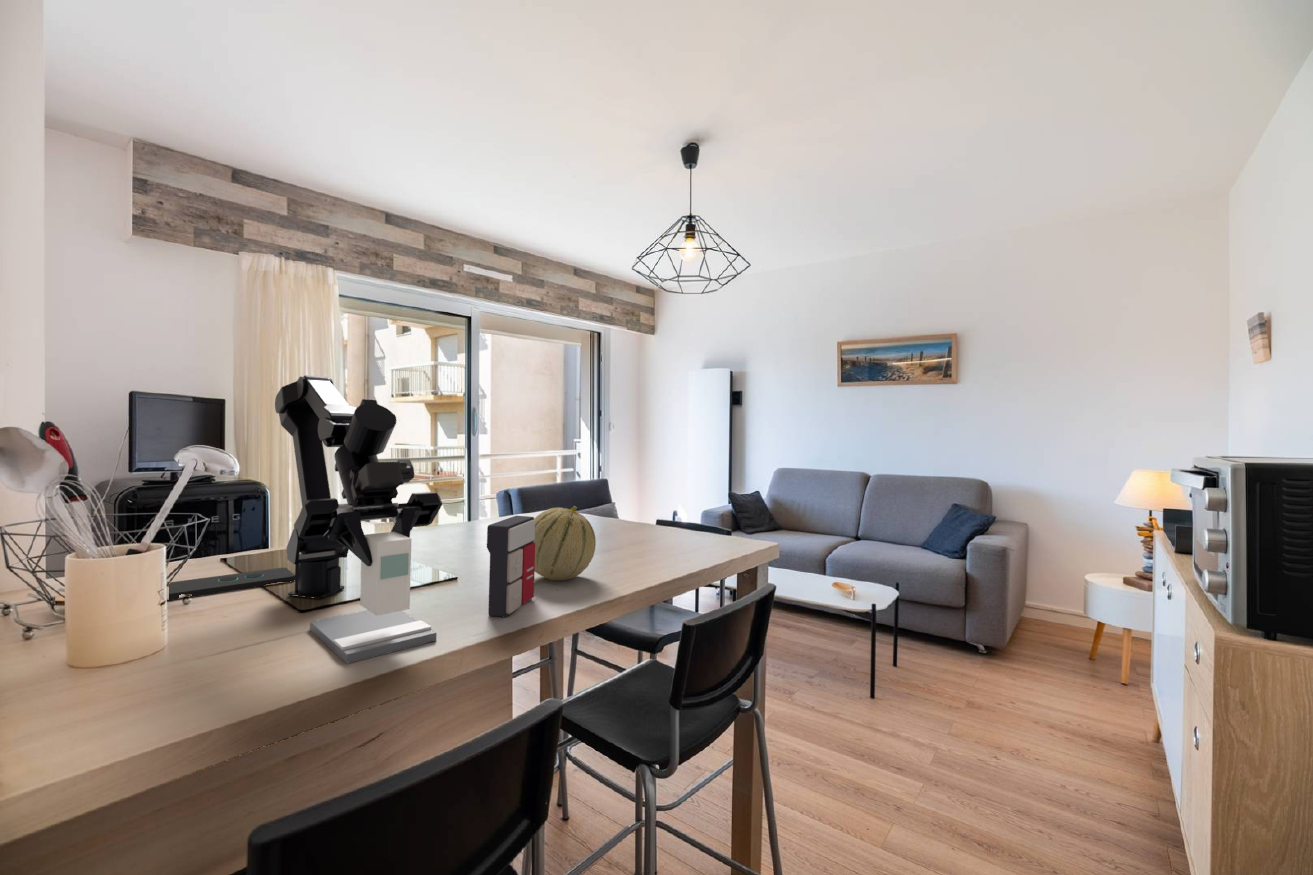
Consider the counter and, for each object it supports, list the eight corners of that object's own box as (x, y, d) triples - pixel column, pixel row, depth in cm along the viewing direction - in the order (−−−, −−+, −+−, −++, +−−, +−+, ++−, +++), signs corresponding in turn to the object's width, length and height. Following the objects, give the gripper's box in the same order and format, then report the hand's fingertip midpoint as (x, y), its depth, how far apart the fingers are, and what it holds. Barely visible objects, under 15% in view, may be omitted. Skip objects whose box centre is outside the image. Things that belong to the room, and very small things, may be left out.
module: (360, 604, 82) (361, 535, 82) (392, 598, 86) (394, 531, 85) (376, 616, 78) (378, 542, 78) (410, 609, 81) (412, 538, 81)
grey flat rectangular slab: (346, 663, 75) (347, 651, 75) (310, 629, 86) (310, 618, 86) (436, 640, 84) (436, 629, 84) (392, 612, 95) (392, 602, 95)
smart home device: (296, 575, 110) (157, 594, 96) (296, 584, 110) (157, 605, 96) (285, 566, 116) (153, 583, 102) (285, 574, 116) (153, 593, 102)
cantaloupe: (511, 574, 120) (513, 502, 120) (575, 566, 128) (577, 499, 128) (538, 593, 108) (540, 513, 108) (607, 583, 116) (610, 509, 116)
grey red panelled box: (508, 618, 94) (511, 527, 94) (484, 616, 95) (487, 525, 94) (536, 599, 105) (538, 516, 104) (514, 596, 106) (516, 515, 105)
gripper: (304, 440, 78) (329, 536, 70) (438, 440, 91) (471, 521, 84) (287, 492, 83) (308, 585, 76) (415, 485, 97) (444, 564, 89)
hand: (388, 561), depth 81 cm, fingers closed on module, 4 cm apart
